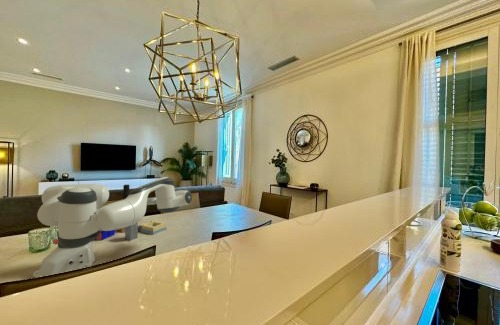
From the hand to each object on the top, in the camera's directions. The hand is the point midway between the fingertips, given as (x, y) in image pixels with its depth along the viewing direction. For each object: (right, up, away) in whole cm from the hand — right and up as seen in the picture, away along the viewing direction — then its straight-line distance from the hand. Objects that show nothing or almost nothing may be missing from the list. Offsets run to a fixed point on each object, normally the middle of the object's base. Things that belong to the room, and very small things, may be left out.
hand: (152, 201), depth 131 cm
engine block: (-17, -25, +6) cm, 31 cm away
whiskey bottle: (-30, -24, +23) cm, 44 cm away
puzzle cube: (-37, -25, +8) cm, 45 cm away
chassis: (-9, -25, +22) cm, 34 cm away
